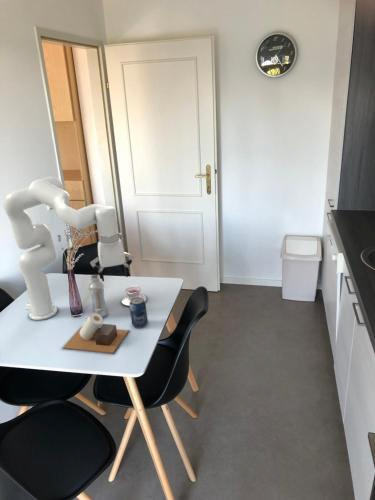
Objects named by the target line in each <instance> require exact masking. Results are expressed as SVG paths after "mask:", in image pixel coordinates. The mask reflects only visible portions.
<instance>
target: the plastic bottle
mask: <svg viewBox="0 0 375 500" xmlns="http://www.w3.org/2000/svg"><path fill="white" fill-rule="evenodd" d="M88 290H89V293H90V296H91V301H92V313H97V314H99V315H100V316H101V317H102V318H104V317H106V316H107V315H108V313H109V308H108V306H107V303H106V300H105V286H104V283H103V281H102V280H101V279H100V275H99V274H92V275H91V276H90V283H89V286H88Z"/></svg>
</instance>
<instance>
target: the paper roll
mask: <svg viewBox="0 0 375 500" xmlns="http://www.w3.org/2000/svg"><path fill="white" fill-rule="evenodd" d="M102 324H104V317H101V316H100V315H99V314H97V313H93V312H92V313H90V314H89V316H88V317H87V319H86V320H85V322H84V324H83V325H82V326H81V327H82V328H81V327H80V328H81V330H80V336H81V337H82V338H83V339H85V340H91V339H92V338H93V337H94V334H95V333H96V331H97V330H98V329H99V328H100V327H101V325H102Z"/></svg>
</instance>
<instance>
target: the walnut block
mask: <svg viewBox="0 0 375 500" xmlns="http://www.w3.org/2000/svg"><path fill="white" fill-rule="evenodd" d="M117 330H118V329H117V324H112V323H102V324H101V326H100V327H99V329H98V330H97V331H96V333H95V334H94V335H95V341H96V345H105V346H110V345H111V343H112V342H113V341H114V339H115V338H116V336H117Z"/></svg>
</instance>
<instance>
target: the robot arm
mask: <svg viewBox="0 0 375 500" xmlns="http://www.w3.org/2000/svg"><path fill="white" fill-rule="evenodd" d="M70 201H71V196H70V194H69V192H67V191H66V190H64V184H63V182H62V181H61V179H59V178H58V177H57V176H53V175H52V176H51V175H50V176H45V177H42V178H38V179H35V180H34V181H32V182H31V183H30V184H29V186H28V187H24V188H19V189H16V190H14V191H12V192H10V193H8V194H7V195H6V196H5V197H4V199H3V209H4V211H5V213H6V215H7V218H8V219H9V222H10V225H11V230H12V233H13V236H14V239H15V242H16V245H17V246H18V248H19V249H21V250H27V251H26V252H24V253H22V254H21V255H20V257H19V259H18V267H19V269H20V271H21V273H22V276H23V279H24V282H25V286H26V291H27V295H28V300H29V303H25V307H24V310H25V311H29V312H28V316H29V319H31V320H34V321H42V320H46V319H49V318H51V317H53V316H55V315H56V314H57V313H58V308H57V306H56V305H53V300H52V296H51V292H50V291H51V290H50V285H49V281H48V277H47V275H46V274H45V273H44V272H43V271H42V269H44V268H45V267H46V266H49V265H51V264H53V263H54V262H55V260H56V257H57V255H56V249H55V246H54V245H55V244H54V240H53V237H52V234H51V231H50V229H49V227H48V225H46V224H45V223H44V222H41V221H40V222H33V221H32V217H31V216H30V214H29V213H28V212H27V211H26V210H27V209H30V208H34V207H37V206H40V205H42V204H43V205H46V206H48V207H50V208H51V209H54V210H55V211H56V214H57V216H58V218H59V219H60V220H61V222H63V224H66V225H68V226H70V227H72V228H74V229H76V230H85V229H87V228H89V227H91V226H93V225H96V226H97V232H98V239H99V241H98V242H97V255H98V256H97V257H95V258H94V259H93V260H91V261H90V262H89V264H90V265H91V267H92V268H93V269H94V270H95V271H97V272H98V275H99V278H100V280H101V282H105V277H104V271H103V270H104V268H108V267H109V268H110V267H115V266H121V265H123V268H124V275H125V277H126V278H128V277H129V275H130V270H129V267H130V266H131V264H132V263H133V261H134V258H135V256H134V254H131V253H129V252H126V251H125V249H124V246H123V242H122V239H121V237H122V238H123V233H121V232H119V229H118V220H117V213H116V209H115V207H114V206H111V205H105V206H104V205H100V204H96V203H94V204H93V203H92V204H91V203H90V204H89V205H87V206H84V207H81V208H79V209H76V208H73V207H71V206H69V204H70ZM29 249H30V250H29ZM126 258H129V259H128V260H126ZM98 262H99V265H96V264H97V263H98Z"/></svg>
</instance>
